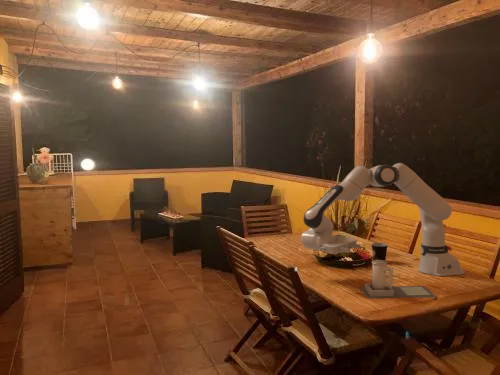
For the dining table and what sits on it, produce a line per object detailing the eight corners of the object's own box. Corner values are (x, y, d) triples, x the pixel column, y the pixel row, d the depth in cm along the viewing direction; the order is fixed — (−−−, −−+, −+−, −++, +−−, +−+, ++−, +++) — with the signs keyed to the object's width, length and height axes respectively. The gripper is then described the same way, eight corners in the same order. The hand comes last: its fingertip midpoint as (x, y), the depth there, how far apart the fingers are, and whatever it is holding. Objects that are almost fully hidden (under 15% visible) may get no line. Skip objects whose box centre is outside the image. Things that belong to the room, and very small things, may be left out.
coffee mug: (388, 264, 236) (388, 246, 235) (372, 263, 238) (372, 246, 237) (385, 258, 248) (386, 241, 247) (370, 257, 249) (370, 241, 248)
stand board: (424, 288, 197) (424, 280, 197) (437, 299, 183) (437, 291, 183) (359, 289, 197) (359, 282, 197) (367, 301, 183) (367, 292, 183)
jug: (368, 292, 190) (368, 262, 189) (375, 288, 195) (376, 258, 193) (388, 297, 184) (388, 266, 182) (395, 293, 188) (395, 262, 187)
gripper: (317, 241, 199) (342, 246, 189) (341, 234, 213) (366, 238, 203) (317, 254, 200) (342, 260, 190) (341, 246, 214) (366, 251, 204)
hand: (354, 248), depth 197 cm, fingers open, 8 cm apart
